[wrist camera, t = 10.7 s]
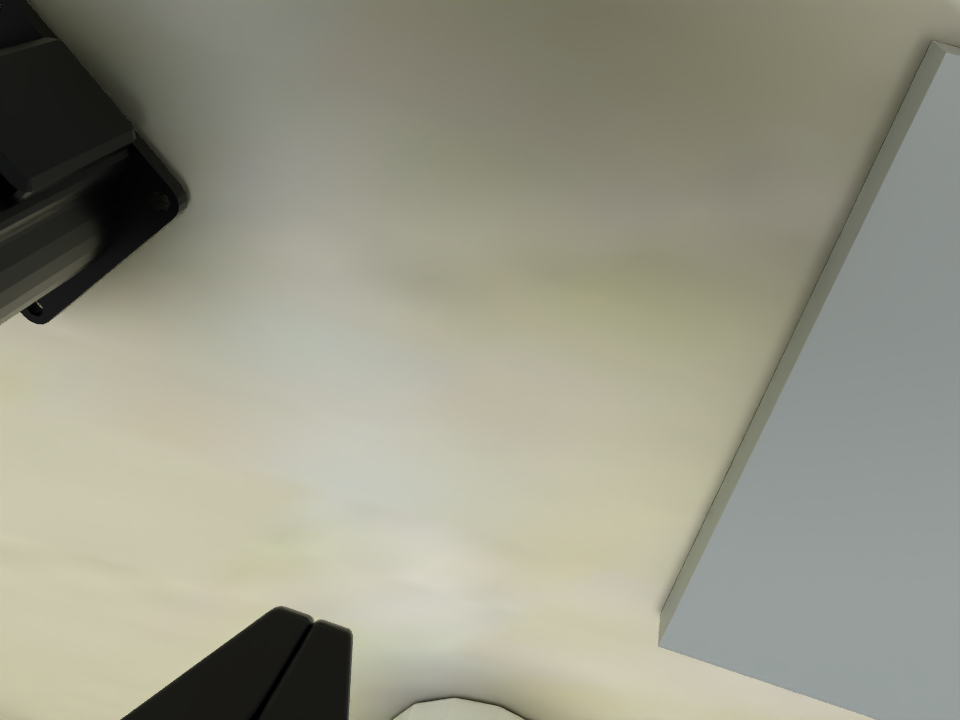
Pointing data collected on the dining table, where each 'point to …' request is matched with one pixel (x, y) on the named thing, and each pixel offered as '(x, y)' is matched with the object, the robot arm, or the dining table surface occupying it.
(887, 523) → the switch board
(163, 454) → the dining table surface
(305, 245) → the dining table surface
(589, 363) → the dining table surface
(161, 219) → the robot arm
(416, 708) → the white cup
